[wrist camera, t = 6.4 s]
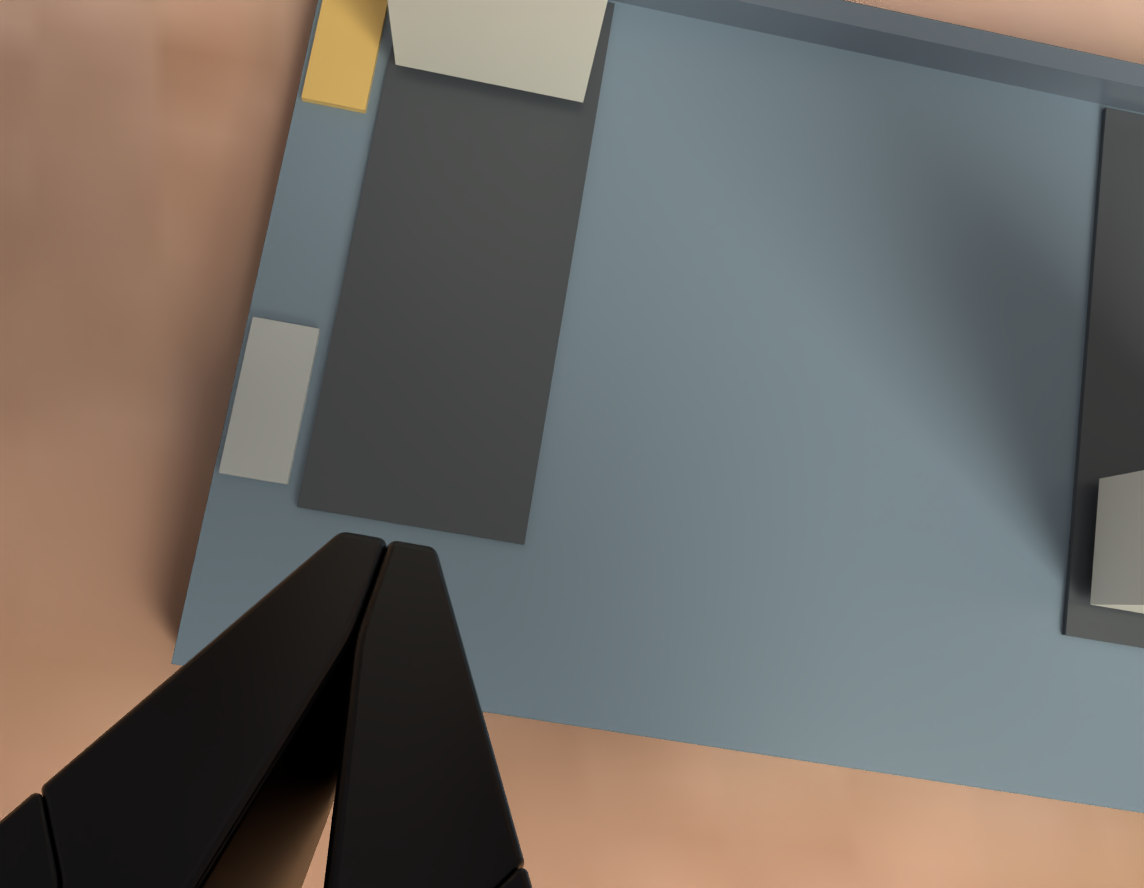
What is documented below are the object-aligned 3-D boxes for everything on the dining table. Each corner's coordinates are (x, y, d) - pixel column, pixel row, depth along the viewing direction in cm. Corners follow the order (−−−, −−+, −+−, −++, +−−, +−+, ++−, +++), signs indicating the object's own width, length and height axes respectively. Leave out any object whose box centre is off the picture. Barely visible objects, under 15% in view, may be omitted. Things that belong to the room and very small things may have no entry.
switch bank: (1291, 830, 17) (1371, 852, 15) (186, 660, 15) (156, 666, 14) (1317, 156, 19) (1390, 117, 17) (341, -51, 17) (330, -110, 16)
